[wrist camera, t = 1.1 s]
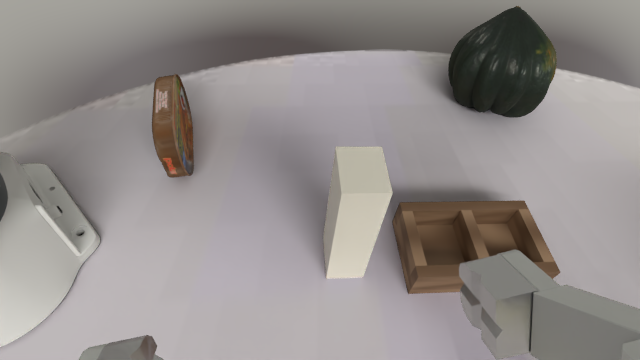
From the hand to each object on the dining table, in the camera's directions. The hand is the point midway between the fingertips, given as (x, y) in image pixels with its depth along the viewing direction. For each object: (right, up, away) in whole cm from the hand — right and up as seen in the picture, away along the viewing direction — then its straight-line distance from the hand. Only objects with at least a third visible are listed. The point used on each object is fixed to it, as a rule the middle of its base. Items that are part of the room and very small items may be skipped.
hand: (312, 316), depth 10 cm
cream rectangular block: (+3, -5, +32) cm, 33 cm away
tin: (-19, +8, +41) cm, 46 cm away
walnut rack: (+17, -5, +34) cm, 38 cm away
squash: (+27, +17, +53) cm, 62 cm away
